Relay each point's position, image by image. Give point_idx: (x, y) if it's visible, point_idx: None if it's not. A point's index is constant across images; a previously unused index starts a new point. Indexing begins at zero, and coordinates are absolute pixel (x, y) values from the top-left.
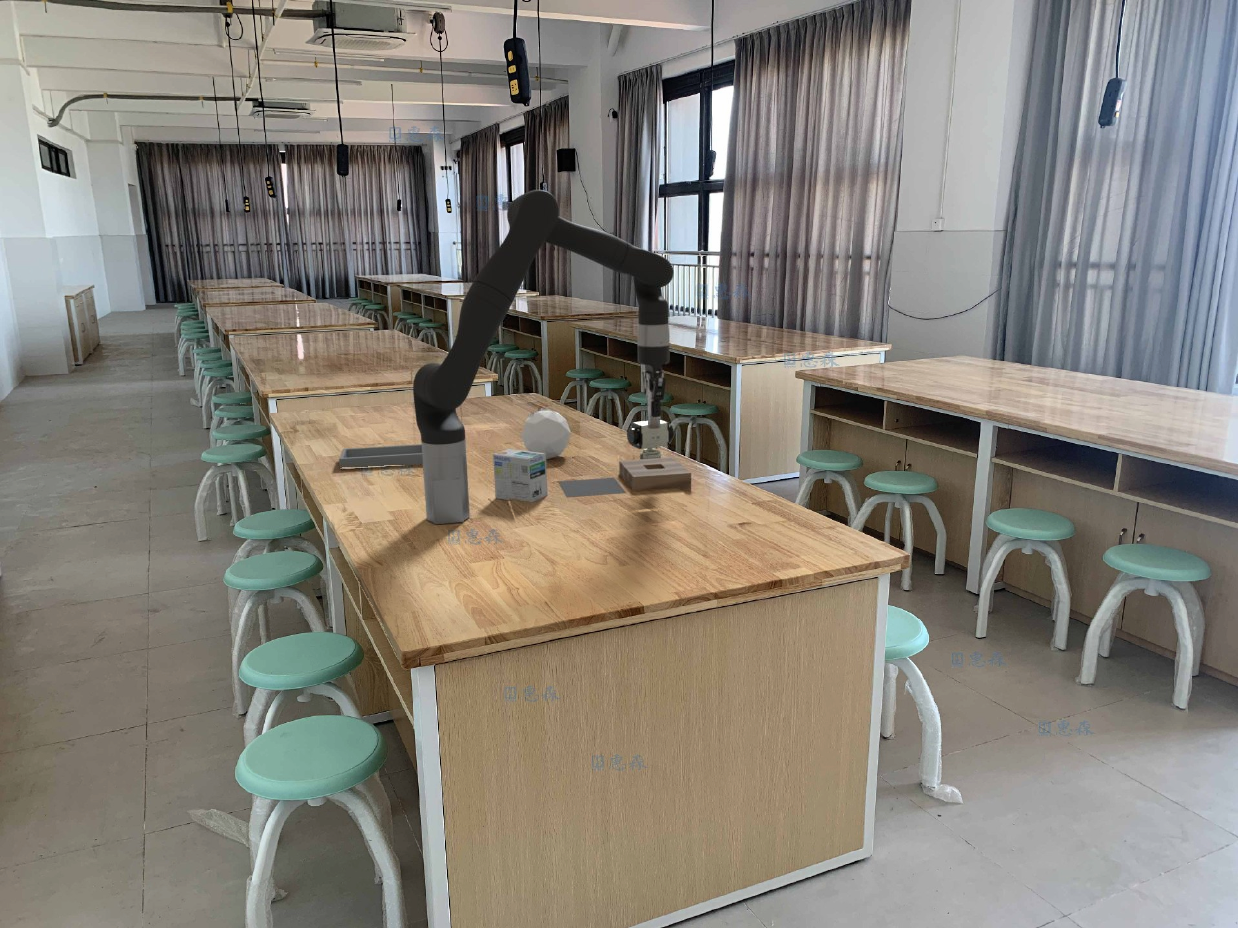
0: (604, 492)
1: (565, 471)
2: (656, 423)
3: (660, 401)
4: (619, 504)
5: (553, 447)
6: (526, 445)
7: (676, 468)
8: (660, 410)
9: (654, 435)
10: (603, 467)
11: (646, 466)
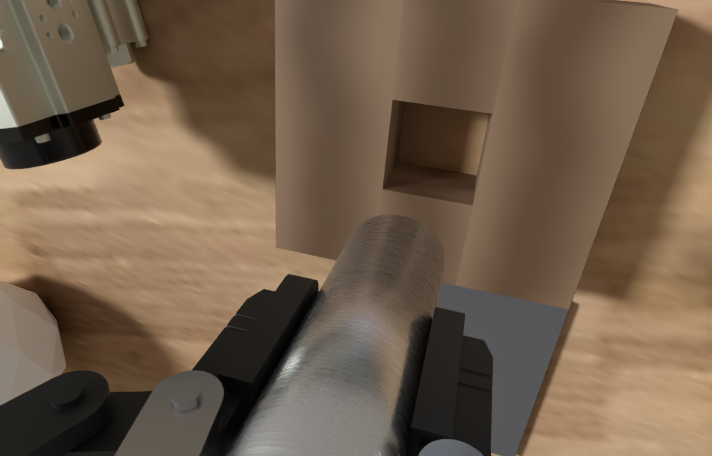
0: (523, 360)
1: (199, 334)
2: (441, 287)
3: (448, 437)
4: (671, 364)
5: (51, 349)
6: None
7: (524, 56)
8: (460, 350)
9: (49, 26)
10: (168, 217)
11: (385, 170)
